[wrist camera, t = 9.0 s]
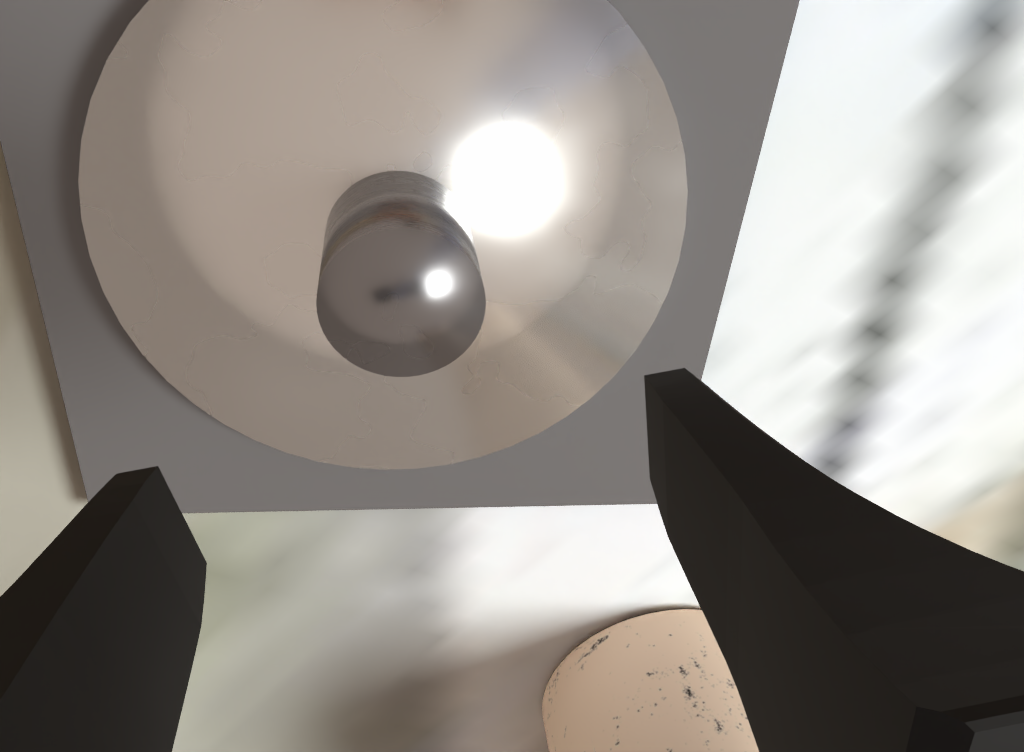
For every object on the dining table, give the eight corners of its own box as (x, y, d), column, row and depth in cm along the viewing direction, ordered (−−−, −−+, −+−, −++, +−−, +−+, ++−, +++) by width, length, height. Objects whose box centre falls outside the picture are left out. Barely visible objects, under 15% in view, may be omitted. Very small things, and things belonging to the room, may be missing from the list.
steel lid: (675, -152, 15) (745, -145, 12) (682, 407, 23) (727, 495, 20) (-34, -41, 15) (-136, -6, 12) (207, 494, 22) (180, 598, 19)
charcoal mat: (818, -126, 16) (832, -125, 16) (663, 490, 25) (668, 503, 25) (-73, -223, 14) (-89, -225, 13) (97, 499, 23) (91, 515, 22)
